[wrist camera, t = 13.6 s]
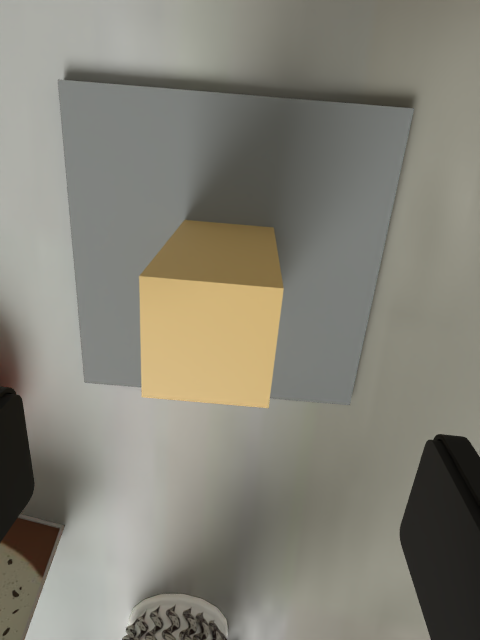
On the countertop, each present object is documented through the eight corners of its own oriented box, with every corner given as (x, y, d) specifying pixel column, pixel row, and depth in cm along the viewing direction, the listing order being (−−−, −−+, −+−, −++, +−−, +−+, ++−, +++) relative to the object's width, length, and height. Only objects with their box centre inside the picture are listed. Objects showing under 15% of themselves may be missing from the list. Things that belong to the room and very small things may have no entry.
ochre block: (273, 227, 21) (283, 288, 13) (264, 309, 23) (268, 407, 15) (184, 219, 21) (139, 275, 13) (182, 302, 23) (141, 396, 15)
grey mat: (409, 109, 20) (414, 108, 19) (347, 399, 26) (349, 404, 26) (63, 80, 20) (57, 79, 19) (88, 377, 26) (84, 382, 26)
